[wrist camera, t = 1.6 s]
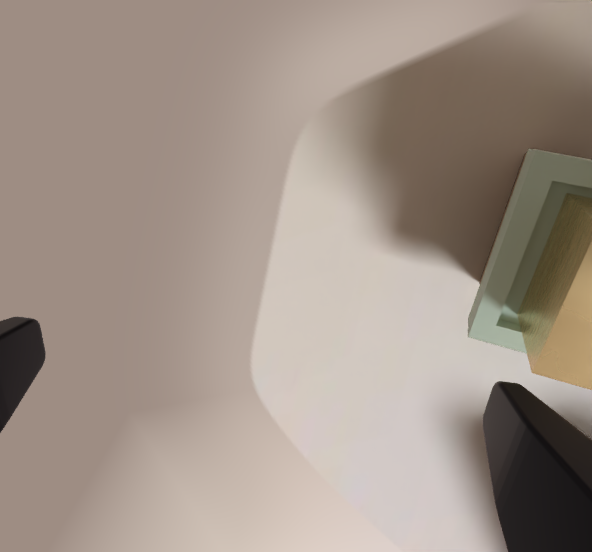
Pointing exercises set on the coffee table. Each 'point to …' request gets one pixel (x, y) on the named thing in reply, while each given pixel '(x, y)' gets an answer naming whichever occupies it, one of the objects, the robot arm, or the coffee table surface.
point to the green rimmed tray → (524, 243)
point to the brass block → (562, 299)
